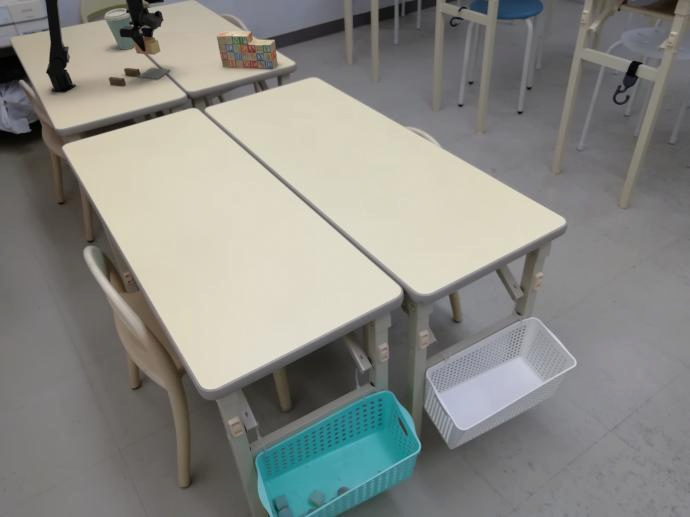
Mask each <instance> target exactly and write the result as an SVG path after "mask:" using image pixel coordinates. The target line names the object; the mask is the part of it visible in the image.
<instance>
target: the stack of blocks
mask: <svg viewBox="0 0 690 517" xmlns="http://www.w3.org/2000/svg"><path fill="white" fill-rule="evenodd" d="M252 33H253V31H247V30H246V31H245V30H244V31H242V30H240V31H239V30H238V31H237V30H236V31H234V30H233V31H232V30H230V31H229V30H227V31H226V30H222V31H221V32H220V33H218V34H217V35H216V40H217V45H218V46H217V47H218V50H219V55H220V59H221V64H222V68H233V69H234V68H236V69H264V70H266V69H267V70H271V69H274V68H275V67H276V66H277V65H278V56H277V50H276V41H275V39H254V38H253V34H252Z"/></svg>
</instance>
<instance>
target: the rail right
mask: <svg viewBox="0 0 690 517" xmlns="http://www.w3.org/2000/svg"><path fill="white" fill-rule="evenodd" d="M123 70H124V73H125V76H126V77H137V78H138V76H139V75H141V74H142V73H141V71H140V69H139V68H134V67H133V68H132V67H125V68H124V69H123Z"/></svg>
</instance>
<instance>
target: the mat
mask: <svg viewBox="0 0 690 517" xmlns="http://www.w3.org/2000/svg"><path fill="white" fill-rule="evenodd" d="M170 72H172V71H171V69H169V68H167V69H166V68H156V67H150V68H148V69H146V71H144V72H142V73H140V74H141V75H139V76H138V77H137V78H138V79H148V80H157V81H158V80H160V79H161V78H163V77H164V76H166V75H167V74H168V73H170Z"/></svg>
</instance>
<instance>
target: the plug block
mask: <svg viewBox="0 0 690 517" xmlns="http://www.w3.org/2000/svg"><path fill="white" fill-rule="evenodd" d="M143 40H144V45H145V52H143V51H142V50H141V49H140V47H139V46H138V45H137V44H136V43H135V41H134V40H133V42H134V49H135V52H136V54H138V55H139V54H140V55H150V56H151V55H154V56H155V55H157V54H158V53H160V52H161V47H160V44H159V40H157V39H156V37H143Z"/></svg>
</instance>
